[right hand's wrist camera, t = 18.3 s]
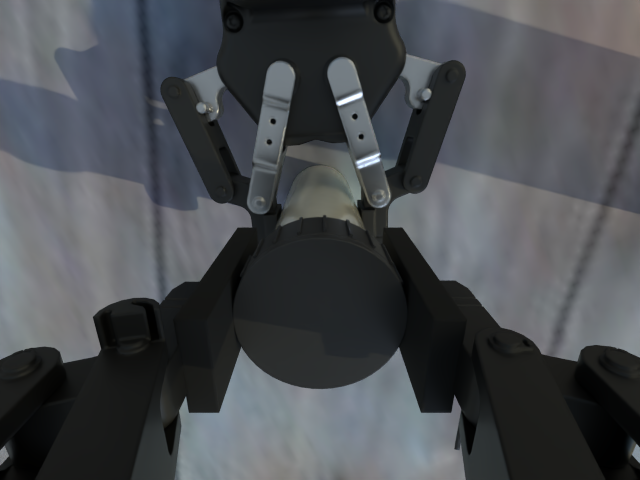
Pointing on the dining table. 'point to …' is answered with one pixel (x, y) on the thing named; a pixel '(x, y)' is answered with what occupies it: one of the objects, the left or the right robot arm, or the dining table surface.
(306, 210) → the jar
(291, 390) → the dining table surface
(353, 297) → the lid
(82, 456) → the right robot arm
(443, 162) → the dining table surface
